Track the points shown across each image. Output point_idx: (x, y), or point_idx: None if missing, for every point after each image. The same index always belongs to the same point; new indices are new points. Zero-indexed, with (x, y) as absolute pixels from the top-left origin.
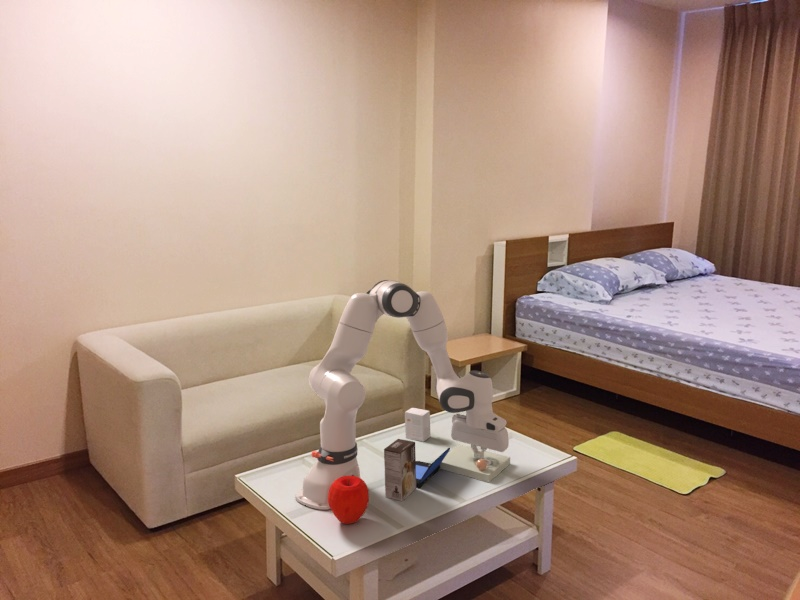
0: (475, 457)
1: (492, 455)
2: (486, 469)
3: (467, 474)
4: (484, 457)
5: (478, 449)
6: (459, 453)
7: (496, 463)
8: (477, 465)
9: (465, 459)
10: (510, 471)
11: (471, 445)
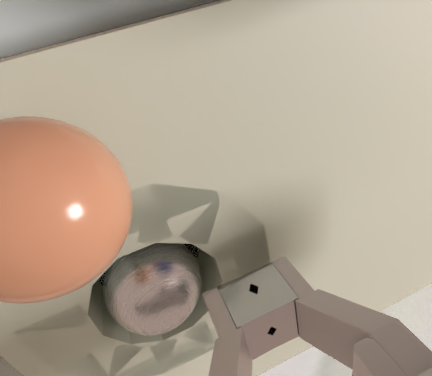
0: None
1: None
2: None
3: (153, 18)
4: None
5: None
6: (409, 207)
7: (81, 355)
8: (25, 122)
9: (329, 182)
10: (2, 371)
11: (414, 345)
